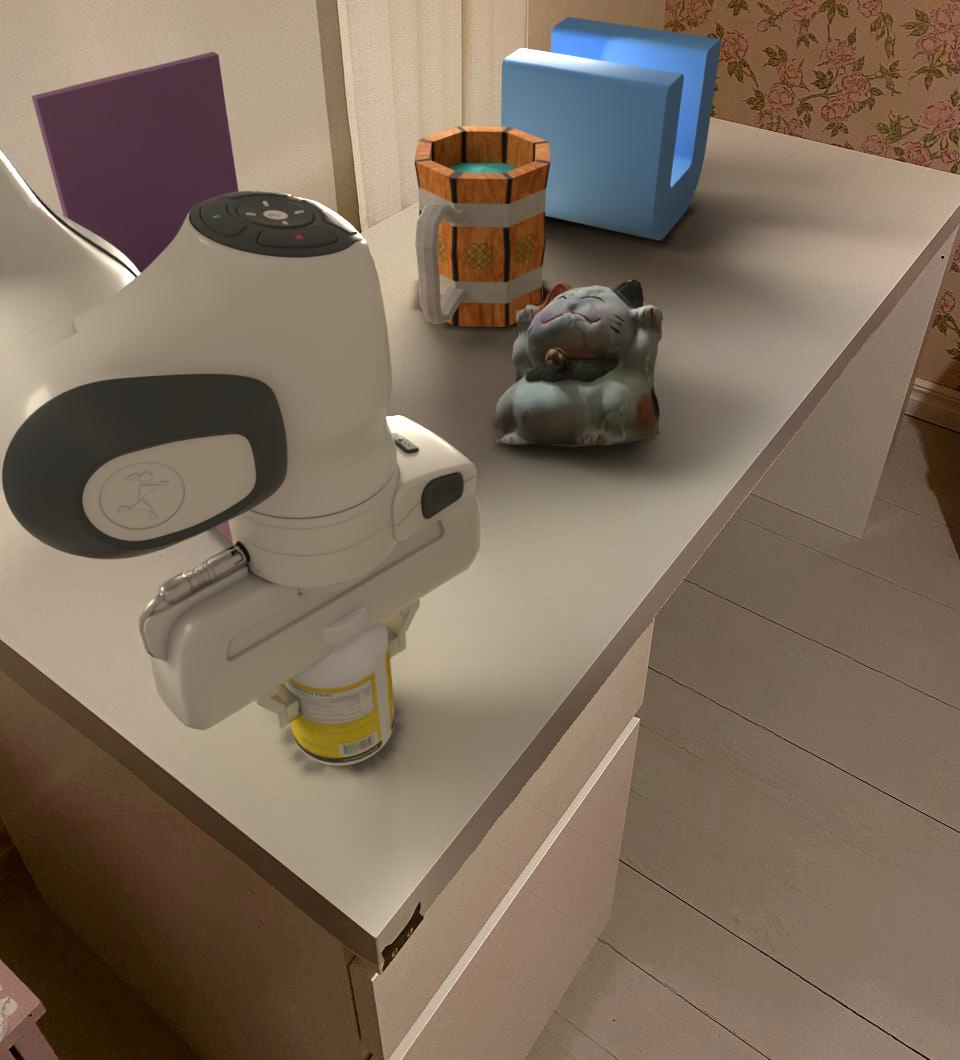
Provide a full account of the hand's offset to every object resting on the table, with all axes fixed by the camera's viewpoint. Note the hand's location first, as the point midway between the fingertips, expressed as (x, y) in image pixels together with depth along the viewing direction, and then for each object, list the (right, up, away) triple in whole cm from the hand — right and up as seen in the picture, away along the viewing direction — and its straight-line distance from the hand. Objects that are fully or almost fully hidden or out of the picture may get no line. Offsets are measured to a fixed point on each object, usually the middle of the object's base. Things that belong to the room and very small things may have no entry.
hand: (338, 681), depth 63 cm
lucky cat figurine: (+16, +18, +28) cm, 37 cm away
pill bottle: (0, -4, +3) cm, 5 cm away
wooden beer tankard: (+8, +31, +43) cm, 54 cm away
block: (+23, +47, +60) cm, 80 cm away
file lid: (-16, +34, +15) cm, 40 cm away
